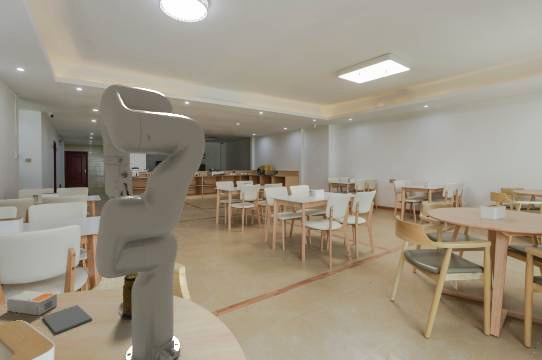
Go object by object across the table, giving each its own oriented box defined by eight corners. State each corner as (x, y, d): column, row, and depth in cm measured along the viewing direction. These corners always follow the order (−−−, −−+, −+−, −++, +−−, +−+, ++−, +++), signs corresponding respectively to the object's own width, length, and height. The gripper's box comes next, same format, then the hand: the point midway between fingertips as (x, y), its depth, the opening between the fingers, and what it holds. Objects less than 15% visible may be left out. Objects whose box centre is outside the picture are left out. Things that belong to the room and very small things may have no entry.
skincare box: (39, 302, 86) (5, 299, 87) (40, 315, 86) (6, 312, 88) (57, 293, 92) (25, 290, 93) (57, 305, 92) (26, 302, 94)
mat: (92, 320, 84) (92, 318, 84) (55, 334, 77) (55, 332, 77) (77, 306, 92) (77, 304, 92) (42, 318, 85) (42, 316, 85)
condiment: (142, 304, 94) (142, 269, 93) (150, 315, 88) (149, 278, 87) (118, 311, 90) (117, 274, 89) (124, 323, 83) (123, 284, 82)
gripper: (140, 162, 90) (140, 219, 91) (118, 161, 99) (119, 213, 100) (115, 162, 84) (116, 223, 85) (94, 161, 93) (96, 216, 94)
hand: (118, 217), depth 93 cm, fingers closed
